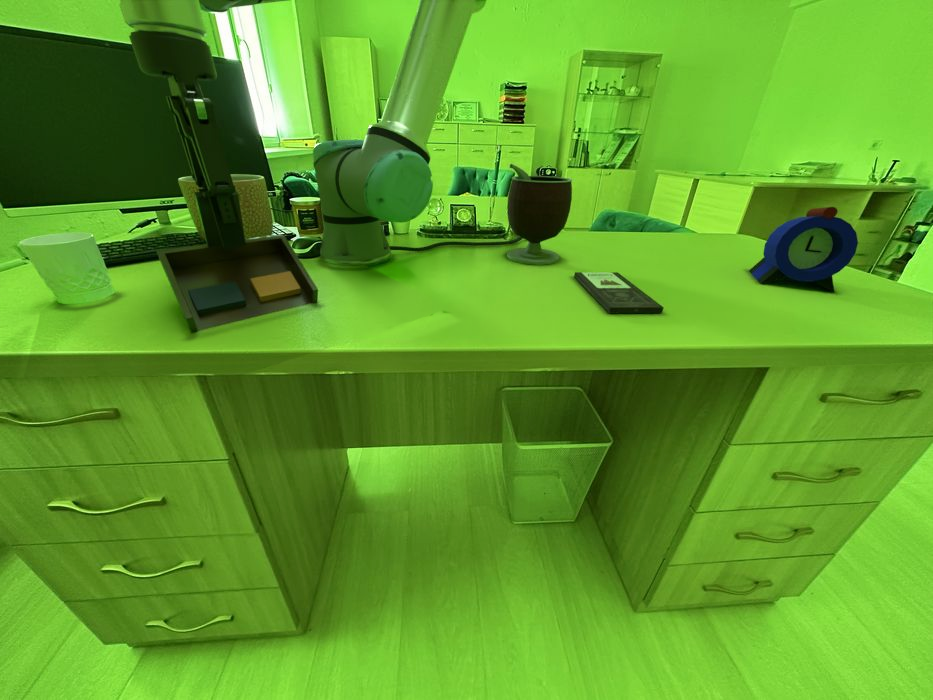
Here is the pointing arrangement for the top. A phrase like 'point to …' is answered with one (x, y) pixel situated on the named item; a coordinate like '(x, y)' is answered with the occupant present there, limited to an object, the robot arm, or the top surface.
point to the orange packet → (275, 286)
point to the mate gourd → (537, 214)
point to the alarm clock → (808, 249)
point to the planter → (251, 204)
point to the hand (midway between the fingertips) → (228, 239)
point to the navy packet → (216, 298)
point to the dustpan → (232, 271)
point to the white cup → (70, 266)
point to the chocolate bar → (617, 293)
